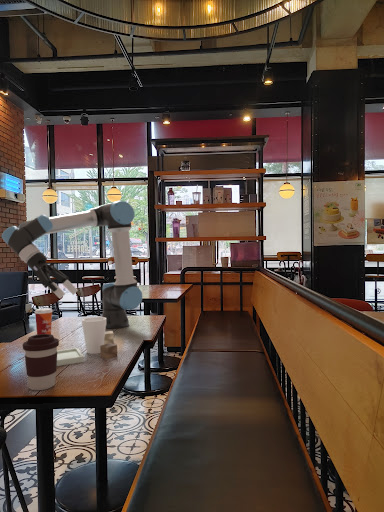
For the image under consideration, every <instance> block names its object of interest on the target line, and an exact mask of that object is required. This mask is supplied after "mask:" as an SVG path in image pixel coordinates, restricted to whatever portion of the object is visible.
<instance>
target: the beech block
mask: <svg viewBox="0 0 384 512" xmlns="http://www.w3.org/2000/svg"><path fill="white" fill-rule="evenodd" d="M114 337H115V336H114V332H113V330H108V331H105V338H104V344H108V343H112V344H115V343H114V341H115V340H114Z"/></svg>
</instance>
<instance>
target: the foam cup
mask: <svg viewBox="0 0 384 512" xmlns="http://www.w3.org/2000/svg"><path fill="white" fill-rule="evenodd" d="M81 326H82V330H83V336H84V343H85V348H86V353H87V354H91V355H95V354H96V355H97V354H100V345H104V338H105V332H106V329H107V328H106V318H105V317H102V316H89V317H85V318H82V319H81Z"/></svg>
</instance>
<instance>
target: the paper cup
mask: <svg viewBox="0 0 384 512" xmlns="http://www.w3.org/2000/svg"><path fill="white" fill-rule="evenodd" d="M34 310H35V311H34V314H35V316H34V317H35V327H36V335H39V334H51V335H52V321H53V320H52V319H53V309H52V308H50V307H46V308H45V307H43V308H37V309H34Z"/></svg>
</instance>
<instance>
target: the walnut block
mask: <svg viewBox="0 0 384 512" xmlns="http://www.w3.org/2000/svg"><path fill="white" fill-rule="evenodd" d="M99 354H100V356H99V357H100V358H102V359H105V360H110V359H113V358H117V357H118V344H115V343H113V344H112V343H108V344H104V345H100V353H99Z"/></svg>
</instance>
